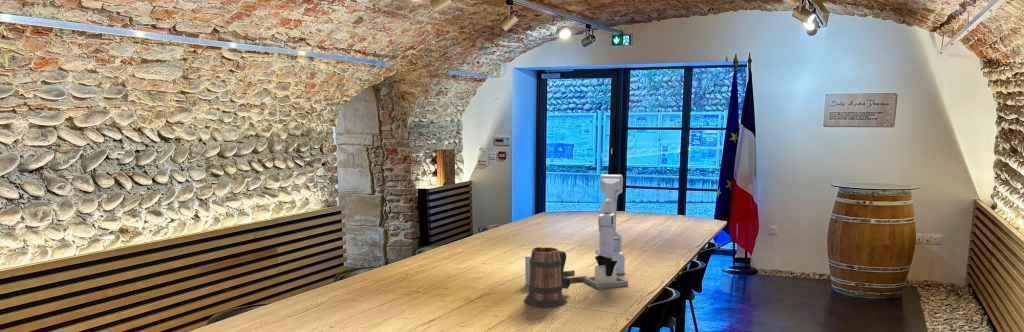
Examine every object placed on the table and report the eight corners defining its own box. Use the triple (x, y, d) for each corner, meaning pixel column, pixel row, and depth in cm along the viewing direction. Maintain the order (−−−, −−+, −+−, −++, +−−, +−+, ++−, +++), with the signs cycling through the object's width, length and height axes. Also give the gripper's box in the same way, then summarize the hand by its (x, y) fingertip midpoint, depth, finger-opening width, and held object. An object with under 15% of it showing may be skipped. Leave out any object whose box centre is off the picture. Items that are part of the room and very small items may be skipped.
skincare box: (541, 283, 270) (541, 255, 269) (538, 286, 266) (538, 257, 265) (528, 282, 272) (528, 254, 271) (524, 284, 268) (524, 256, 267)
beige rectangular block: (612, 280, 272) (613, 264, 272) (617, 282, 269) (618, 266, 268) (594, 282, 269) (594, 265, 268) (599, 284, 265) (599, 268, 265)
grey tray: (612, 279, 277) (613, 274, 277) (628, 285, 266) (628, 281, 266) (584, 282, 272) (584, 277, 272) (598, 289, 261) (598, 284, 260)
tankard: (549, 310, 232) (550, 256, 231) (514, 302, 243) (513, 250, 241) (586, 296, 250) (586, 246, 248) (551, 289, 261) (551, 240, 259)
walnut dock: (573, 274, 285) (573, 270, 285) (586, 280, 274) (586, 276, 274) (552, 276, 281) (552, 272, 281) (564, 283, 270) (564, 278, 270)
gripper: (589, 240, 273) (589, 271, 274) (606, 246, 259) (606, 279, 260) (603, 238, 275) (603, 270, 276) (621, 245, 262) (621, 277, 263)
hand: (605, 274), depth 268 cm, fingers open, 5 cm apart
